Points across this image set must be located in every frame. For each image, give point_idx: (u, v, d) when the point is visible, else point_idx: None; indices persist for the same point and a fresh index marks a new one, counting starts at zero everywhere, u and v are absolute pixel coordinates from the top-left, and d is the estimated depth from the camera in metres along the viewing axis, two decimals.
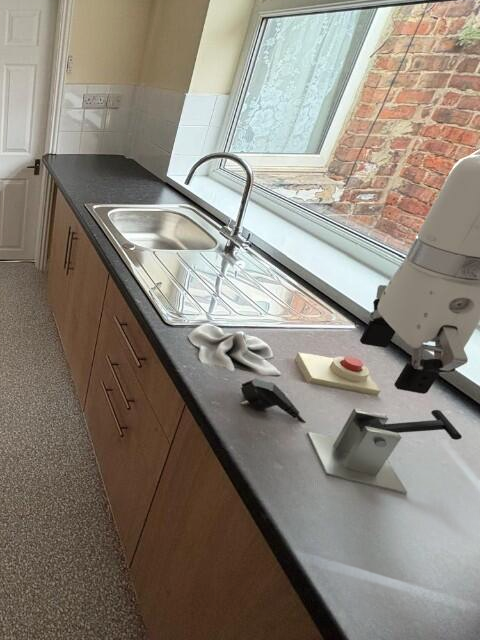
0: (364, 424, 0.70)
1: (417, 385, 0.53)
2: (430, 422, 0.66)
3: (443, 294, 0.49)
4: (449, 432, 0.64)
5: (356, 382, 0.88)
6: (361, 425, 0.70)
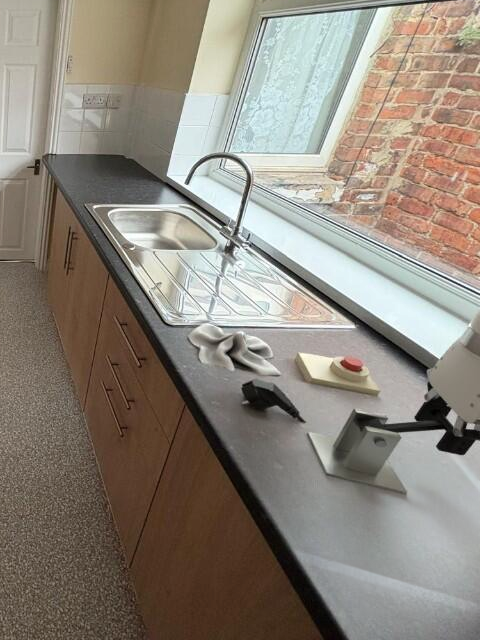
0: (364, 424, 0.70)
1: (457, 449, 0.63)
2: (430, 422, 0.66)
3: None
4: None
5: (356, 382, 0.88)
6: (361, 425, 0.70)
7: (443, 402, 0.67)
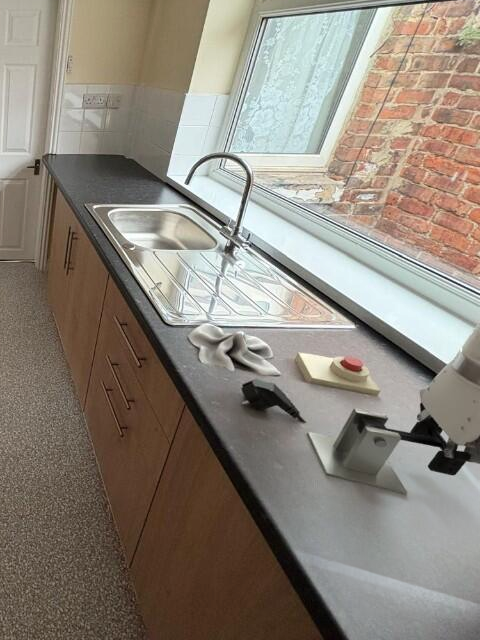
0: (368, 423, 0.69)
1: (448, 469, 0.64)
2: (429, 438, 0.67)
3: None
4: None
5: (356, 382, 0.88)
6: (365, 423, 0.69)
7: (435, 423, 0.68)
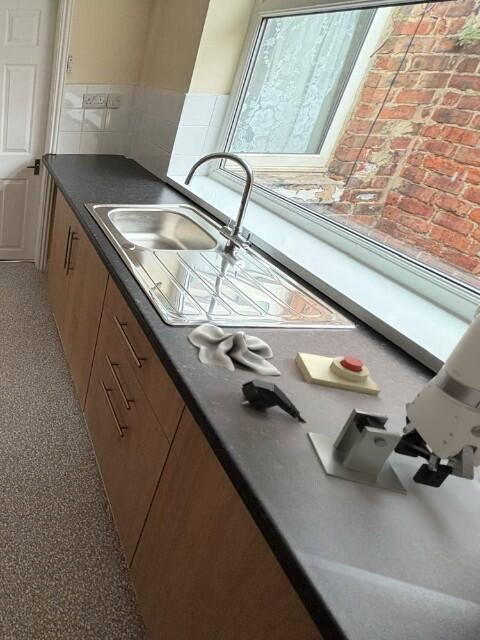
0: (372, 422, 0.69)
1: (431, 482, 0.66)
2: (419, 448, 0.68)
3: (466, 421, 0.60)
4: None
5: (356, 382, 0.88)
6: (370, 422, 0.69)
7: (420, 436, 0.70)
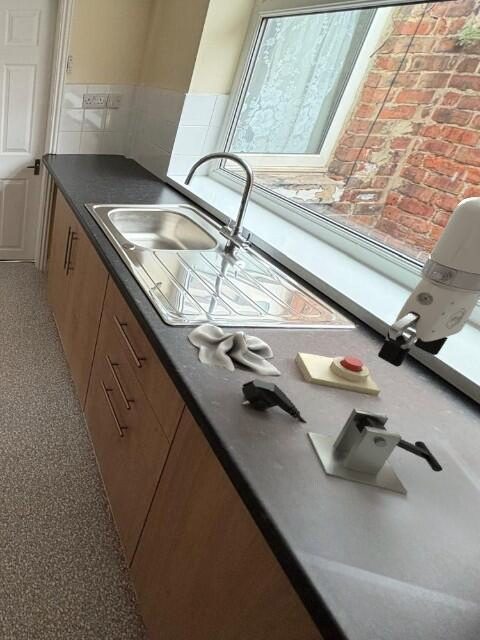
0: (372, 422, 0.69)
1: (387, 354, 0.73)
2: (419, 448, 0.68)
3: (416, 288, 0.69)
4: (434, 463, 0.67)
5: (356, 382, 0.88)
6: (370, 422, 0.69)
7: None
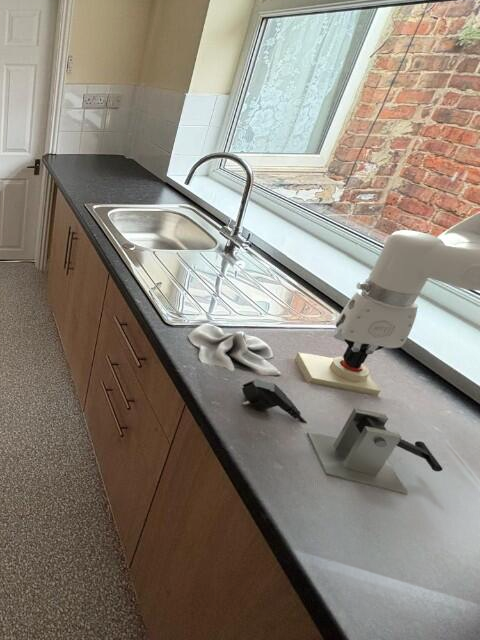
0: (372, 422, 0.69)
1: (345, 356, 0.90)
2: (419, 448, 0.68)
3: None
4: (434, 463, 0.67)
5: (356, 382, 0.88)
6: (370, 422, 0.69)
7: (363, 347, 0.88)
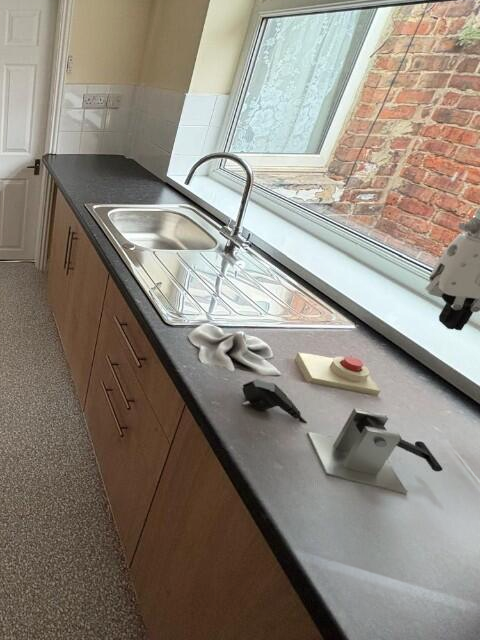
0: (372, 422, 0.69)
1: (442, 316, 0.75)
2: (419, 448, 0.68)
3: (452, 241, 0.71)
4: (434, 463, 0.67)
5: (356, 382, 0.88)
6: (370, 422, 0.69)
7: (466, 304, 0.72)
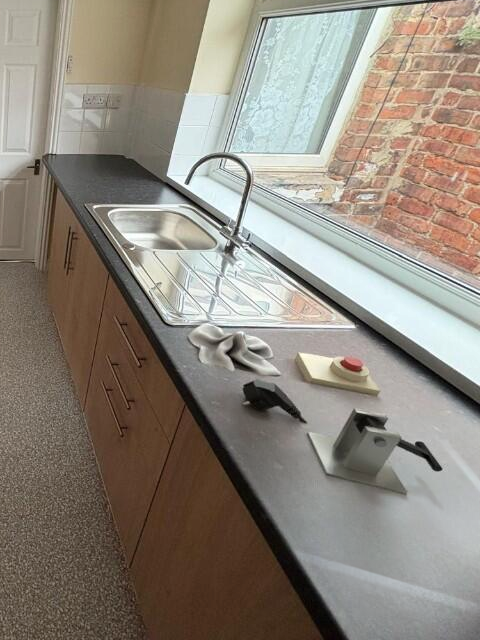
0: (372, 422, 0.69)
1: None
2: (419, 448, 0.68)
3: None
4: (434, 463, 0.67)
5: (356, 382, 0.88)
6: (370, 422, 0.69)
7: None
